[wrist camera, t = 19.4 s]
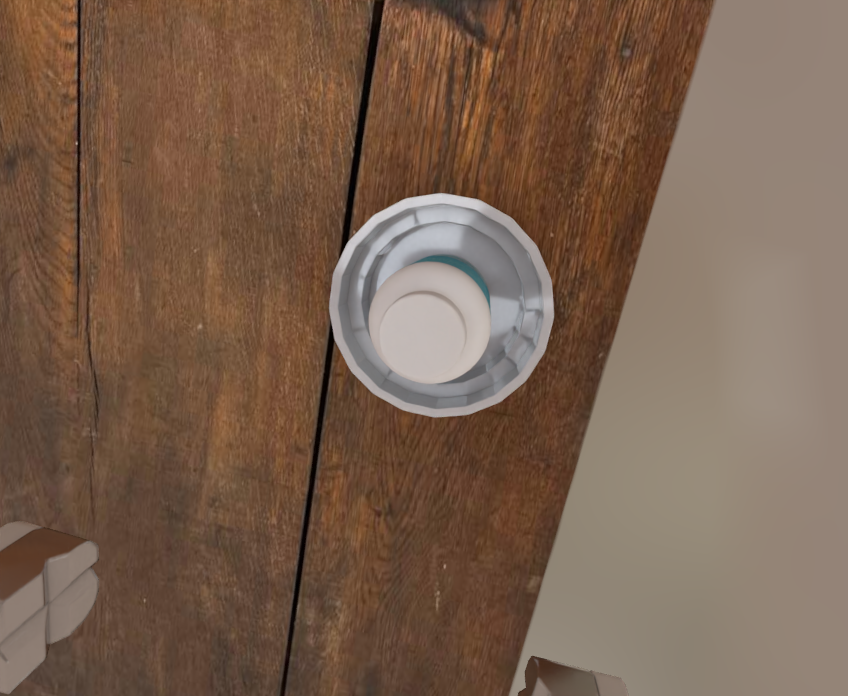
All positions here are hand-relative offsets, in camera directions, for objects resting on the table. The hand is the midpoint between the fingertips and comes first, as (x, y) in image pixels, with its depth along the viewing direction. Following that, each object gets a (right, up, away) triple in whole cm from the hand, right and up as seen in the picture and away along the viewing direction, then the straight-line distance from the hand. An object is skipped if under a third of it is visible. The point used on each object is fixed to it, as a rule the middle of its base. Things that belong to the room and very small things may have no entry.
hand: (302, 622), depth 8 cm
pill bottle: (+4, +9, +29) cm, 31 cm away
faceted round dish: (+4, +9, +30) cm, 31 cm away
